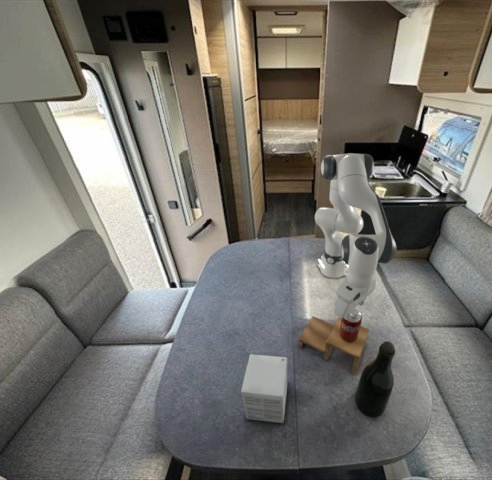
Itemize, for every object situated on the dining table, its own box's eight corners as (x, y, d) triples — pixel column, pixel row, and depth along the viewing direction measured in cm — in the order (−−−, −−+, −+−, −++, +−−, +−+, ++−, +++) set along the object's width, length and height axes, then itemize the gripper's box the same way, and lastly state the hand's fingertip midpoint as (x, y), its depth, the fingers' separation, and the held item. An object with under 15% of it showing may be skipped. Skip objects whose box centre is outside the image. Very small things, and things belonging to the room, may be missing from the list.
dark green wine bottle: (357, 383, 99) (372, 326, 81) (386, 394, 95) (408, 337, 77) (351, 411, 91) (367, 354, 73) (383, 424, 87) (407, 368, 69)
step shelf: (312, 323, 122) (313, 306, 116) (364, 345, 112) (369, 329, 106) (298, 346, 112) (299, 329, 106) (355, 373, 102) (359, 356, 96)
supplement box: (253, 380, 100) (249, 353, 90) (288, 384, 99) (287, 356, 89) (245, 419, 89) (240, 392, 79) (283, 423, 88) (283, 397, 78)
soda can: (357, 344, 100) (362, 324, 94) (338, 341, 101) (342, 320, 95) (357, 329, 106) (362, 309, 100) (339, 326, 107) (342, 306, 101)
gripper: (367, 264, 96) (362, 292, 104) (332, 292, 85) (329, 320, 92) (383, 273, 92) (376, 300, 100) (348, 302, 81) (343, 331, 88)
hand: (353, 310), depth 96 cm, fingers open, 8 cm apart
